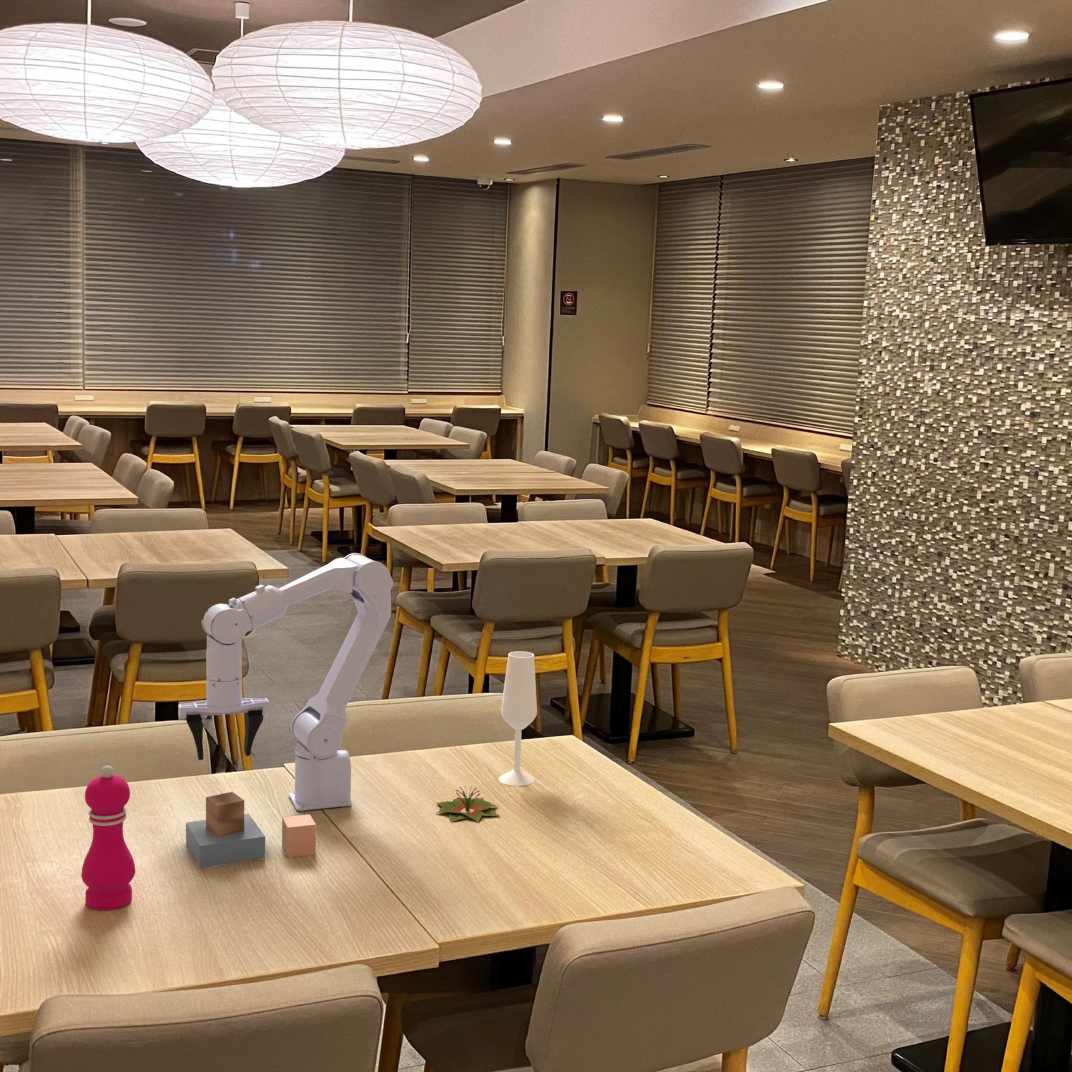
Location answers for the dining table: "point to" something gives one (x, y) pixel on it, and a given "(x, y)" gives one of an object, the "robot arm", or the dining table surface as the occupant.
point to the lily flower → (467, 807)
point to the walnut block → (224, 814)
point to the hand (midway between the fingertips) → (223, 756)
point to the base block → (225, 844)
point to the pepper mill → (108, 844)
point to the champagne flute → (519, 707)
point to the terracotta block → (298, 835)
